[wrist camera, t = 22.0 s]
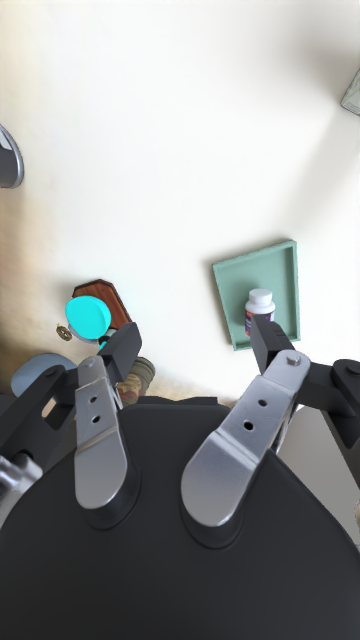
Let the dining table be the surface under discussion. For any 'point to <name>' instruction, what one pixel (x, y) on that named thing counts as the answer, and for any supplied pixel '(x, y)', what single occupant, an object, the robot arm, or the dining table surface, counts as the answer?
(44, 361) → the alarm clock
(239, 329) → the tray
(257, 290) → the pill bottle
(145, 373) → the container
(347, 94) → the cosmetic box
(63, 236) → the dining table surface
